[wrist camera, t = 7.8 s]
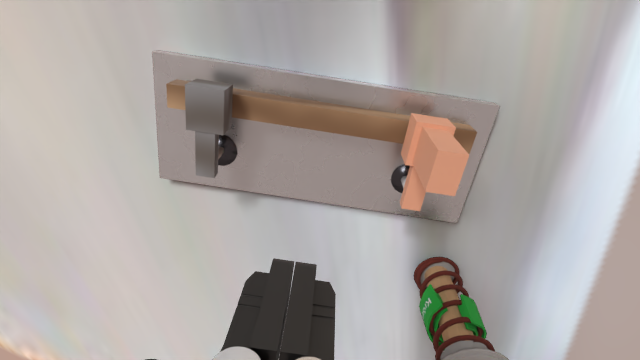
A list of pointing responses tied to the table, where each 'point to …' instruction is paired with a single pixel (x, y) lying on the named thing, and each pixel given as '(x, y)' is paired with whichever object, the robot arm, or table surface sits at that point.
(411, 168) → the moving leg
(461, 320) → the shock absorber
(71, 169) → the table surface
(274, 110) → the beam
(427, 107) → the hole plate
